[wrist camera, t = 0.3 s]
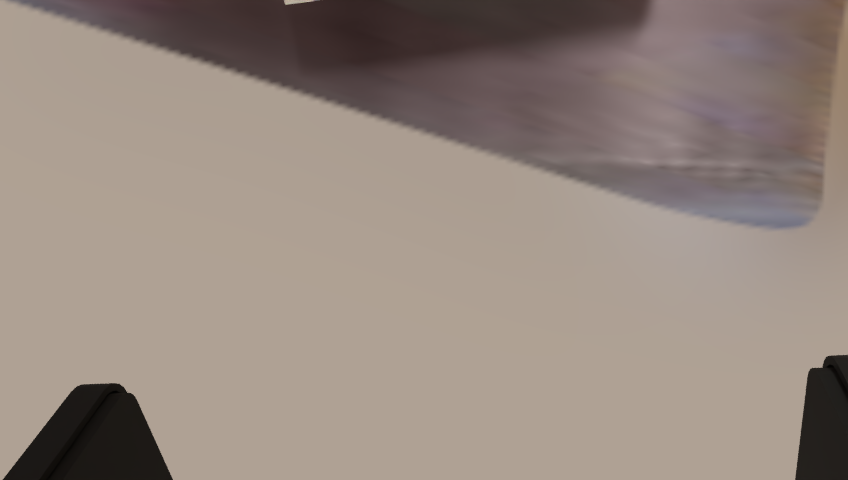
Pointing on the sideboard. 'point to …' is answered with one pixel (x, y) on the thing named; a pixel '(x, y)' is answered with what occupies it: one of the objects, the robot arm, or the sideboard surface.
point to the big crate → (296, 1)
